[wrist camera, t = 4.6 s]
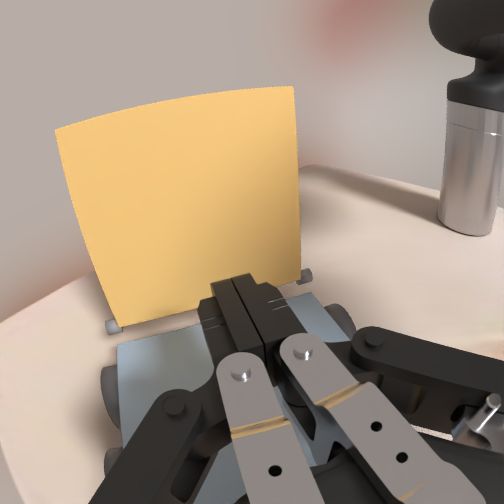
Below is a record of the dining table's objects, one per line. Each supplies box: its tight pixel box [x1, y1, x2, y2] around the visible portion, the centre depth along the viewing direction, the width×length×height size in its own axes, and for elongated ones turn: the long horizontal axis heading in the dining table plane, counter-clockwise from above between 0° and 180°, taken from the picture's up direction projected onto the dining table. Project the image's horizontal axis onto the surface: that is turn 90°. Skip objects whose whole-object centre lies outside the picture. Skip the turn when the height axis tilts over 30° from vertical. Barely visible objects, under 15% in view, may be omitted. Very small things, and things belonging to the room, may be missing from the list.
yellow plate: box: [55, 86, 313, 335], centre depth 18 cm, size 2×15×14 cm, turn 108°
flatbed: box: [101, 292, 411, 504], centre depth 17 cm, size 12×16×4 cm
